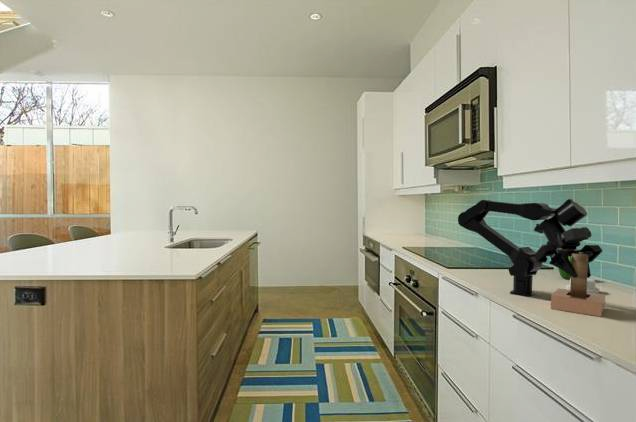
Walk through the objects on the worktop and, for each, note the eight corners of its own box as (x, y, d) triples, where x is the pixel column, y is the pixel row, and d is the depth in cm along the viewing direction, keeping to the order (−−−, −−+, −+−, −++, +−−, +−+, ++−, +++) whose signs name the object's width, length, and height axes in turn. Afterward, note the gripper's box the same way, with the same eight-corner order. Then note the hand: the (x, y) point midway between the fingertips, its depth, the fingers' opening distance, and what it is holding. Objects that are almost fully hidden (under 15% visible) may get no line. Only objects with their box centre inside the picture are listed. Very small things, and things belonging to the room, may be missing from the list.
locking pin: (571, 296, 121) (572, 252, 121) (587, 298, 119) (588, 254, 118) (569, 298, 118) (570, 254, 118) (585, 301, 116) (587, 255, 115)
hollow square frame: (557, 301, 127) (558, 288, 127) (604, 308, 119) (605, 294, 119) (550, 308, 117) (551, 295, 117) (601, 316, 110) (601, 302, 110)
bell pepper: (584, 281, 160) (584, 256, 160) (560, 279, 163) (560, 254, 163) (578, 277, 168) (579, 253, 168) (556, 276, 171) (557, 252, 171)
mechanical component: (586, 288, 148) (559, 288, 148) (587, 276, 148) (559, 276, 148) (606, 294, 138) (577, 294, 138) (606, 281, 138) (577, 281, 138)
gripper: (542, 217, 120) (568, 260, 110) (598, 218, 123) (630, 260, 112) (524, 241, 128) (547, 283, 118) (577, 241, 131) (604, 282, 120)
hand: (582, 276), depth 117 cm, fingers closed on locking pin, 4 cm apart
